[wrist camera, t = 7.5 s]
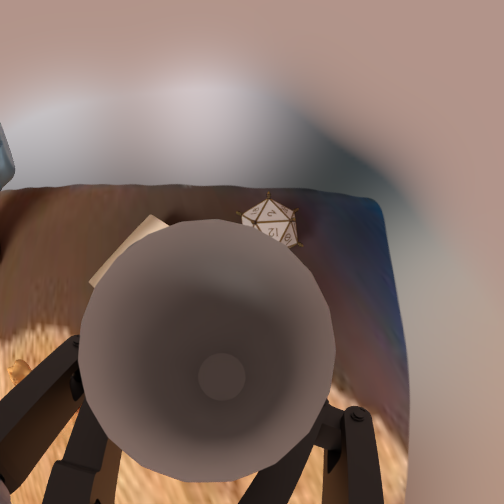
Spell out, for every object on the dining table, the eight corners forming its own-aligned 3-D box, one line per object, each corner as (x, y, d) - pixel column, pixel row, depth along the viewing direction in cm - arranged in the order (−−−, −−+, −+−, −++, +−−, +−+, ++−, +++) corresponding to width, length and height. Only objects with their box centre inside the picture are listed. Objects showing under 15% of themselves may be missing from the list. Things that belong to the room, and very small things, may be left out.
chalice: (193, 342, 24) (115, 213, 9) (272, 349, 24) (329, 228, 9) (184, 423, 21) (62, 446, 5) (267, 431, 21) (329, 487, 5)
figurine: (46, 414, 27) (-13, 403, 17) (47, 373, 30) (-10, 351, 20) (95, 424, 28) (38, 421, 17) (94, 380, 31) (40, 361, 20)
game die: (259, 248, 46) (256, 184, 42) (310, 257, 42) (312, 187, 38) (225, 270, 39) (220, 195, 35) (284, 284, 35) (284, 200, 31)
